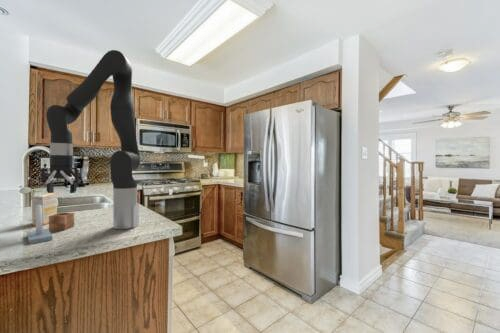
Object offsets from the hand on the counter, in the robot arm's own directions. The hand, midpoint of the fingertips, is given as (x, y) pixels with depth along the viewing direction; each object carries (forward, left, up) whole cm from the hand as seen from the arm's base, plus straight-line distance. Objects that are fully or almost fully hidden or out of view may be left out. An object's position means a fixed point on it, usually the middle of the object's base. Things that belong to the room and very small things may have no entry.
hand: (61, 192), depth 96 cm
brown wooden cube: (0, 0, -15) cm, 15 cm away
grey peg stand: (0, +12, -15) cm, 19 cm away
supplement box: (+13, -9, -15) cm, 22 cm away
